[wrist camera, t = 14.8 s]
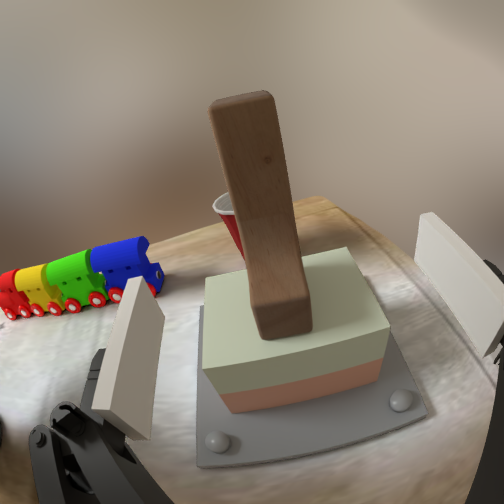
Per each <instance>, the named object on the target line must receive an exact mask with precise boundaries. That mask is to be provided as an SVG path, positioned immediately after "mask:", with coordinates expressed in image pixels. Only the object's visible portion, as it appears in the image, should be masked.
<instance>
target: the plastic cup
mask: <svg viewBox="0 0 504 504" xmlns="http://www.w3.org/2000/svg"><path fill="white" fill-rule="evenodd" d="M213 208H214V210H215V211H216V212H217V213H218V214H219V215H220V216H221V218H222V219H223V221H224V223H225V224H226V226H227V228H228V230H229V232H230V234H231V236H232V237H233V239H234V241H235V243H236V245H237V247H238V249H239V250H240V252H241V254H242V256H243V258H244V260H245V257H244V252H243V247H242V243H241V239H240V234H239V230H238V226H237V223H236V219H235V215H234V211H233V207H232V204H231V200H230V196H229V192H228V193H226V194H224V195H222V196H220V197H219V198H218V199H217V200H215V202H214V204H213Z"/></svg>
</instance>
